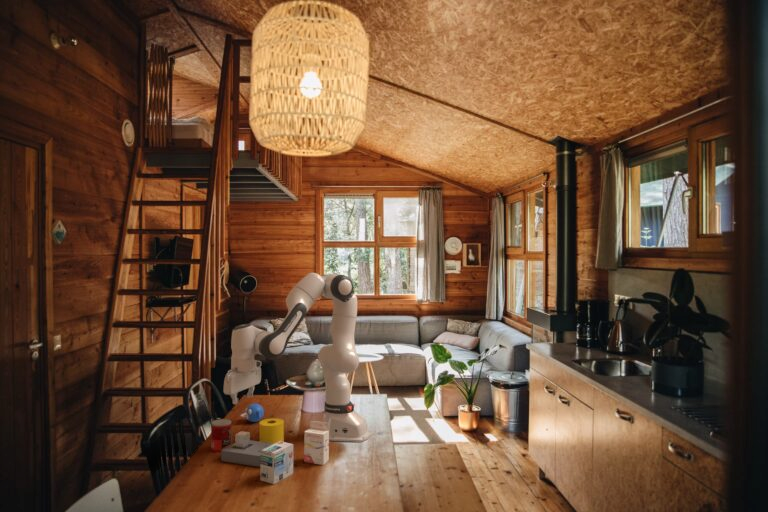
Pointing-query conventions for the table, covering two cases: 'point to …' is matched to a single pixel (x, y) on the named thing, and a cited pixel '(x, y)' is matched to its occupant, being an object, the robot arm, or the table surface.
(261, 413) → the blue mole toy
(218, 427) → the canned food
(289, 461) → the light bulb box
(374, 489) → the table surface
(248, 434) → the square peg
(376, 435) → the table surface
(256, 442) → the socket block
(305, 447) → the ink cartridge box
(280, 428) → the tape roll
